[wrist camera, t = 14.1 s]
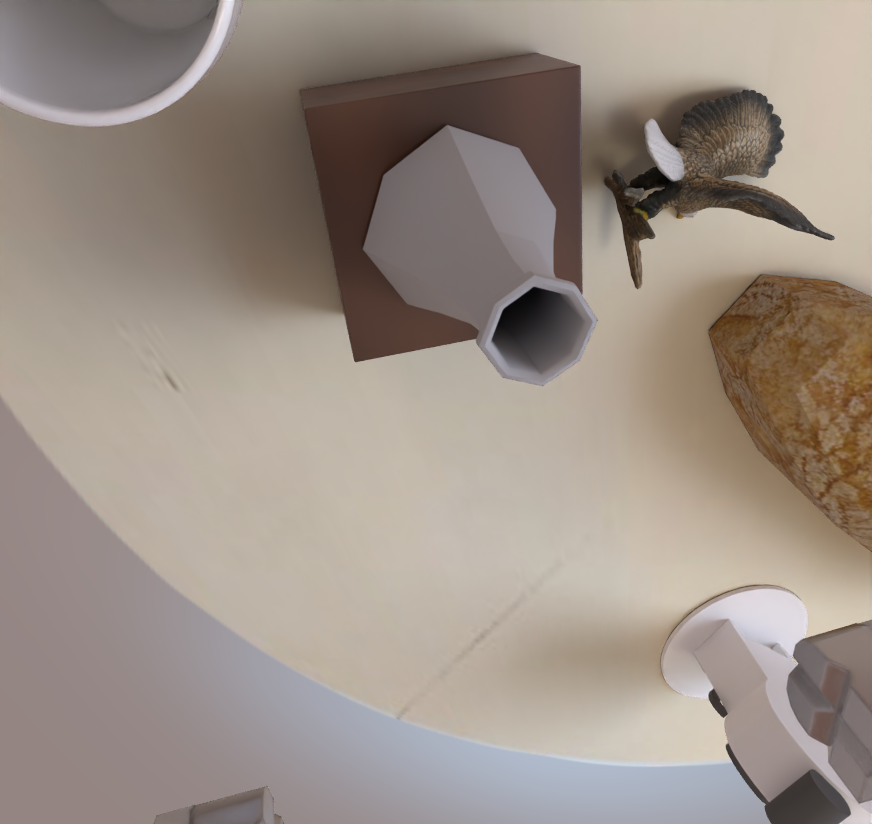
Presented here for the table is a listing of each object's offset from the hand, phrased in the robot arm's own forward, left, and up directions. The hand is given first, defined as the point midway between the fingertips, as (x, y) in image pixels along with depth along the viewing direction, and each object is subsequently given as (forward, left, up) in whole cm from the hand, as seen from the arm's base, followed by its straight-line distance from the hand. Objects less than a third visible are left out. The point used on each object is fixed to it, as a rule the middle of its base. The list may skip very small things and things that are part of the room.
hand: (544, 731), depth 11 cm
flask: (+3, +1, -21) cm, 21 cm away
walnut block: (+3, +1, -26) cm, 26 cm away
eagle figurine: (+15, 0, -26) cm, 30 cm away
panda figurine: (+21, -35, -26) cm, 49 cm away
